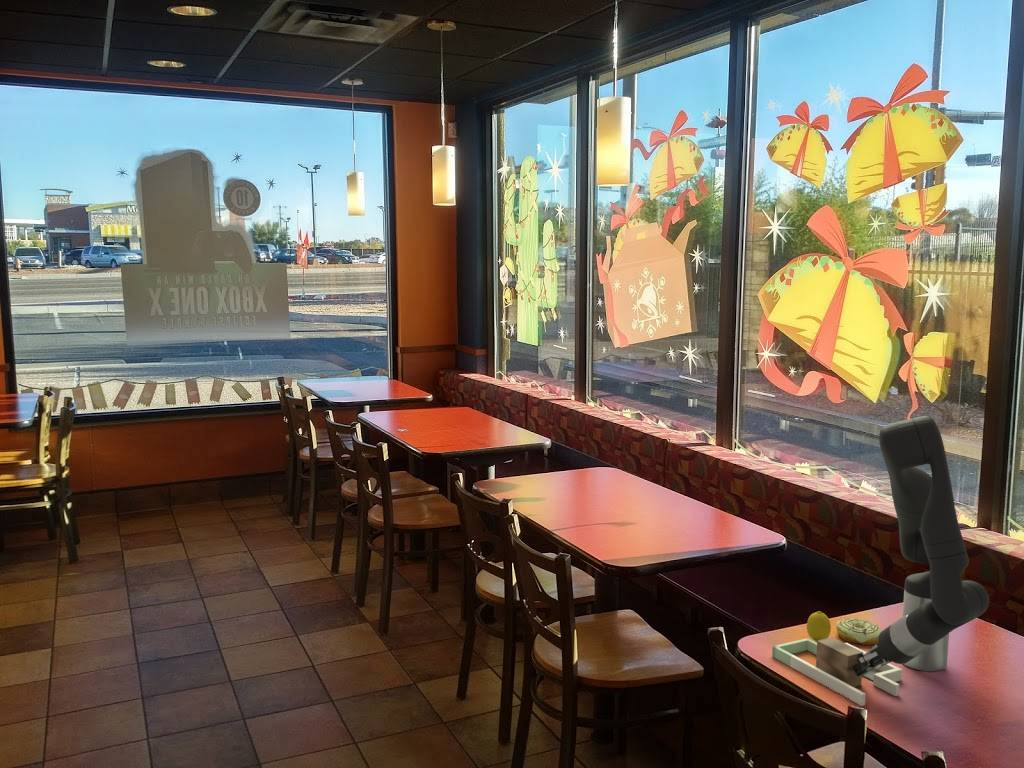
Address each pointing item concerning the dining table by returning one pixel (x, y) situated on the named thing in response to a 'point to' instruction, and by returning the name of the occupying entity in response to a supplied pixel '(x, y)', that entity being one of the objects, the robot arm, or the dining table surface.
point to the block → (838, 660)
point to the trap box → (880, 677)
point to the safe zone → (793, 649)
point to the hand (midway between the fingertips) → (857, 671)
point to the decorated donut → (858, 631)
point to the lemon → (818, 626)
